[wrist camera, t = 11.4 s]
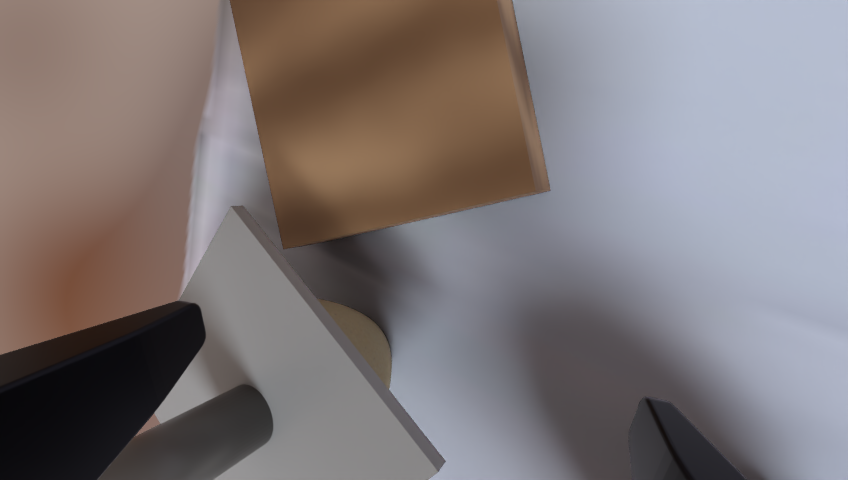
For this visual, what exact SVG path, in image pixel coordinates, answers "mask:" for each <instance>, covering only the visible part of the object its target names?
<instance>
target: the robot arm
mask: <svg viewBox="0 0 848 480" xmlns="http://www.w3.org/2000/svg"><path fill="white" fill-rule="evenodd" d="M205 339H206V330H205V325H204V321H203V316H202V311H201V308H200V306H199V305H198V304H196V303H192V302H187V301H181V300H180V301H175V302H172V303H168V304H166V305H162V306H159V307H155V308H152V309H149V310H146V311H142V312H139V313H136V314H132V315H129V316H126V317H123V318H119V319H116V320H113V321H110V322H107V323H103V324H100V325H97V326H93V327H90V328H87V329H84V330H80V331H77V332H74V333H70V334H67V335H64V336H61V337H57V338H54V339H51V340H48V341H44V342H41V343H38V344H34V345H31V346H28V347H25V348H21V349H18V350H15V351H12V352H8V353H5V354H2V355H0V480H98V479H99V478H100V476H101V475H102V474H103V473H104V472H105V471H106V469H107V468H108V467H109V466H110V465H111V463H112V462H113V461H114V460H115V459H116V458H117V456H118V455H119V454H120V453H121V452H122V450H123V449H124V448H125V447H126V446H127V445H128V443H129V442H130V441H131V440H132V439H133V438H134V436H135V435H136V434H137V433H138V431H139V430H140V429H141V428H142V427H143V426H144V424H145V423H146V422H147V421H148V420H149V419H150V417H151V416H152V415H153V414H154V413H155V411H156V410H157V409H158V408H159V406H160V405H161V404H162V402H163V401H164V400H165V398H166V397H167V396H168V394H169V393H170V391H171V390H172V389H173V387H174V386H175V384H176V383H177V382H178V380H179V379H180V377H181V376H182V374H183V373H184V372H185V370H186V369H187V367H188V366H189V365H190V363H191V362H192V360H193V359H194V358H195V356H196V355H197V353H198V352H199V350H200V349H201V348H202V346H203V345H204V342H205ZM629 450H630V460H631V470H632V480H747V479H746V478H745V477H744V476H743V475H742V474H741V473H740V472H739V471H738V470H737V469H736V468H735V467H734V466H733V465H732V464H731V463H730V462H729V461H728V460H727V459H726V458H725V456H724V455H723V454H722V453H721V452H720V451H719V450H718V449H717V448H716V447H715V446H714V445H713V444H712V443H711V442H710V441H709V440H708V439H707V438H706V437H705V436H704V435H703V434H702V433H701V432H700V431H699V430H698V429H697V428H696V427H695V426H694V425H693V424H692V423H691V422H690V421H689V420H688V419H687V418H686V417H685V416H684V415H683V414H682V413H681V412H680V411H679V410H678V409H677V408H676V407H675V406H674V405H673V404H672V403H670V402H669V401H666V400H662V399H657V398H652V397H644V398H643V399H642V400H641V401H640V403H639V406H638V409H637V411H636V414H635V417H634V419H633V422H632V425H631V427H630V431H629Z"/></svg>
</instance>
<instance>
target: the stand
mask: <svg viewBox="0 0 848 480" xmlns="http://www.w3.org/2000/svg"><path fill="white" fill-rule="evenodd" d="M230 3H231V8H232V13H233V17H234V22H235V27H236V31H237V36H238V41H239V45H240V50H241V55H242V59H243V64H244V69H245V73H246V78H247V83H248V87H249V92H250V96H251V101H252V106H253V110H254V115H255V120H256V124H257V129H258V134H259V138H260V143H261V148H262V152H263V157H264V162H265V166H266V171H267V176H268V180H269V185H270V189H271V194H272V199H273V203H274V208H275V213H276V217H277V222H278V227H279V231H280V236H281V241H282V245H283V249H288V248H294V247H300V246H305V245H311V244H317V243H322V242H327V241H331V240H335V239H340V238H344V237H349V236H353V235H357V234H362V233H366V232H371V231H375V230H379V229H384V228H388V227H393V226H397V225H402V224H406V223H410V222H415V221H419V220H424V219H428V218H432V217H437V216H441V215H446V214H450V213H454V212H459V211H463V210H468V209H472V208H476V207H481V206H485V205H490V204H494V203H499V202H503V201H507V200H512V199H516V198H521V197H525V196H529V195H534V194H538V193H543V192H547V191H551V190H550V185H549V180H548V175H547V170H546V165H545V160H544V155H543V150H542V146H541V141H540V136H539V131H538V126H537V121H536V116H535V111H534V106H533V101H532V96H531V91H530V86H529V82H528V77H527V72H526V67H525V62H524V57H523V52H522V47H521V42H520V37H519V32H518V27H517V22H516V17H515V13H514V8H513V3H512V0H230Z"/></svg>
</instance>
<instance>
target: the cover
mask: <svg viewBox="0 0 848 480" xmlns="http://www.w3.org/2000/svg"><path fill="white" fill-rule="evenodd" d="M180 300H181V301H187V302H192V303H196V304H198V305H199V306H200V308H201V311H202V316H203V321H204V325H205V330H206V339H205V342H204V345H203V346H202V348H201V349H200V350H199V352H198V353H197V355H196V356H195V358H194V359H193V360H192V362H191V363H190V365H189V366H188V367H187V369H186V370H185V372H184V373H183V374H182V376H181V377H180V379H179V380H178V382H177V383H176V384H175V386H174V387H173V389H172V390H171V391H170V393H169V394H168V396H167V397H166V398H165V400H164V401H163V402H162V404H161V405H160V406H159V408H158V409H157V410H156V411H155V413H154V414H155V415H156V417H157V419H158V420H159V422H160V424H159V425H157V426H155V427H153V428H151V429H149V430H147V431H145V432H143V433H141V434H139V435H137V436H135V437H134V438H133V439H132V440H131V441H130V442H129V443H128V445H127V446H126V447H125V448H124V449H123V450H122V452H121V453H120V454H119V455H118V456H117V458H116V459H115V460H114V461H113V462H112V463H111V465H110V466H109V467H108V468H107V469H106V471H105V472H104V473H103V474H102V475H101V476H100V478H99V479H98V480H428V479H430V478H431V477H432V476H433V475H435V474H436V473H437V472H438V471H439V470H440V469H441V467H442V466H443V464H444V463H445V462H446V461H445V460H444V459H443V457H442V456H441V455H440V454H439V452H438V451H437V450H436V449H435V447H434V446H433V445H432V444H431V442H430V441H429V440H428V438H427V437H426V436H425V435H424V433H423V432H422V431H421V430H420V428H419V427H418V426H417V425H416V423H415V422H414V421H413V420H412V418H411V417H410V416H409V414H408V413H407V412H406V411H405V409H404V408H403V407H402V406H401V404H400V403H399V402H398V401H397V399H396V398H395V397H394V396H393V394H392V393H391V392H390V390H389V389H388V388H387V387H386V385H385V384H384V383H383V382H382V380H381V379H380V378H379V377H378V375H377V374H376V373H375V372H374V370H373V369H372V368H371V366H370V365H369V364H368V363H367V361H366V360H365V359H364V358H363V356H362V355H361V354H360V353H359V351H358V350H357V349H356V348H355V346H354V345H353V344H352V343H351V341H350V340H349V339H348V337H347V336H346V335H345V334H344V332H343V331H342V330H341V329H340V327H339V326H338V325H337V324H336V322H335V321H334V320H333V319H332V317H331V316H330V315H329V313H328V312H327V311H326V310H325V308H324V307H323V306H322V305H321V303H320V302H319V301H318V300H317V298H316V297H315V296H314V295H313V293H312V292H311V291H310V289H309V288H308V287H307V286H306V284H305V283H304V282H303V281H302V279H301V278H300V277H299V276H298V274H297V273H296V272H295V271H294V269H293V268H292V267H291V265H290V264H289V263H288V262H287V260H286V259H285V258H284V257H283V255H282V254H281V253H280V252H279V250H278V249H277V248H276V247H275V245H274V244H273V243H272V241H271V240H270V239H269V238H268V236H267V235H266V234H265V233H264V231H263V230H262V229H261V228H260V226H259V225H258V224H257V223H256V221H255V220H254V219H253V218H252V216H251V215H250V214H249V212H248V211H247V210H246V209H245V207H244V206H231V207H230V209H229V211H228V213H227V215H226V216H225V218H224V220H223V222H222V224H221V225H220V227H219V229H218V231H217V233H216V234H215V236H214V238H213V240H212V242H211V243H210V245H209V247H208V249H207V251H206V252H205V254H204V256H203V258H202V260H201V261H200V263H199V265H198V267H197V269H196V270H195V272H194V274H193V276H192V278H191V279H190V281H189V283H188V285H187V287H186V288H185V290H184V292H183V294H182V296H181V297H180V299H179V301H180Z"/></svg>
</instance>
